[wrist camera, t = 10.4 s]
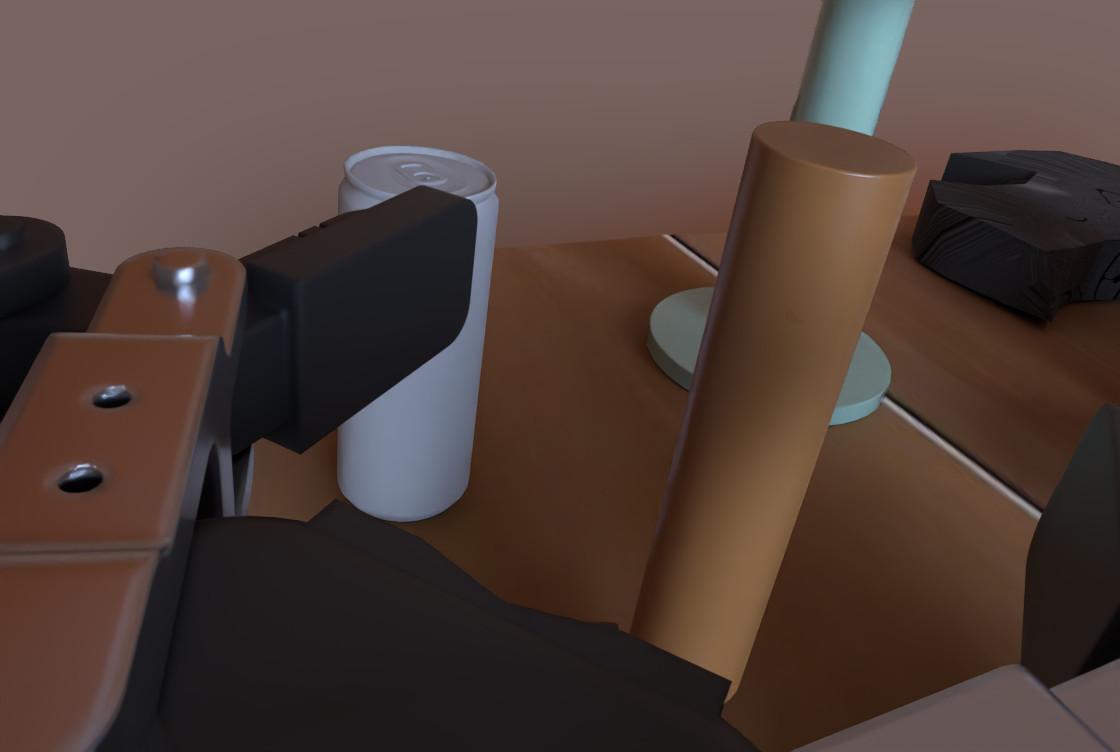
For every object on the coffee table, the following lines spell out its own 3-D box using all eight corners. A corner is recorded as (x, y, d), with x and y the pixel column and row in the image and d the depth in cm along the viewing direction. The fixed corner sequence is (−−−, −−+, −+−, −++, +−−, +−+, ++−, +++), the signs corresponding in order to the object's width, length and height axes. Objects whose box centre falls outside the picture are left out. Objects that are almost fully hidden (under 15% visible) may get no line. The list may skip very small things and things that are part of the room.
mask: (879, 197, 56) (986, 126, 77) (856, 265, 59) (966, 179, 79) (1266, 319, 47) (1270, 202, 68) (1221, 394, 49) (1238, 259, 70)
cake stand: (628, 440, 38) (743, -95, 28) (591, 273, 52) (659, -127, 42) (986, 466, 40) (1215, -24, 30) (860, 299, 54) (988, -77, 44)
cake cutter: (590, 1018, 20) (833, 231, 10) (566, 736, 26) (706, 76, 16) (700, 1018, 20) (1030, 251, 11) (651, 739, 26) (835, 91, 17)
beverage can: (372, 547, 31) (387, 209, 25) (311, 467, 34) (311, 150, 28) (492, 504, 34) (533, 191, 27) (426, 434, 37) (449, 139, 30)
